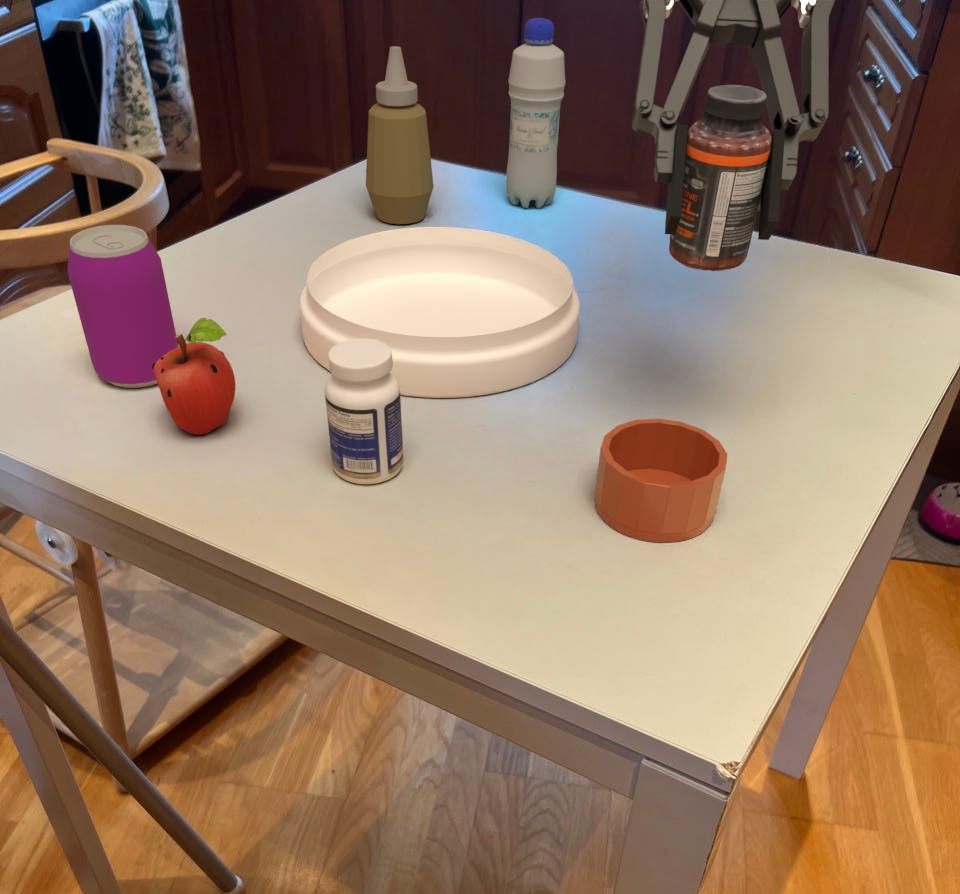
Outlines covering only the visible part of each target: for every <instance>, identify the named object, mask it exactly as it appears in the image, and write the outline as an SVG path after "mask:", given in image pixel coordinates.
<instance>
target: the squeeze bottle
mask: <svg viewBox="0 0 960 894" xmlns="http://www.w3.org/2000/svg"><path fill="white" fill-rule="evenodd" d="M388 51H389V52H388V56H387V57H388V59H387V64H386V71H385V76H384V77H385V78H384V80H382V81H379V82H377V84H375V98H376V103H374V104H373V105H372V106H371V108H369V110H368V120H367V146H366V166H365V167H366V168H365V170H366V171H365V188H366V190H367V193H368V196H369V198H370V201H371V204H372V207H373V209H374V212H375V215H376V218H377V219H378V220H379V221H381V222H383V223H384V222H385V223H388V224H392V225H393V224H394V225H408V224H409V225H410V224H415V223H418V222H420V221H422V220H423V219H424V218H425V216H426V214H427V211H428V207H429V203H430V201H431V196H432V193H433V190H434V186H435V185H434V178H433V167H432V159H431V158H432V157H431V149H430V139H429V130H428V118H427V111H426V109H425V108H424V107H423V106H422V105H421V104H419V103H417V102H418V100H419V99H418V98H419V97H418V96H419V95H418V85H417V83H415V82H413V81H410V80H408V76H407V71H406V66H405V62H404V57H403V53H402V47H401V46H397V45H396V46H395V45H394V46H393V45H392V46H390V47H389V50H388Z"/></svg>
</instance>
